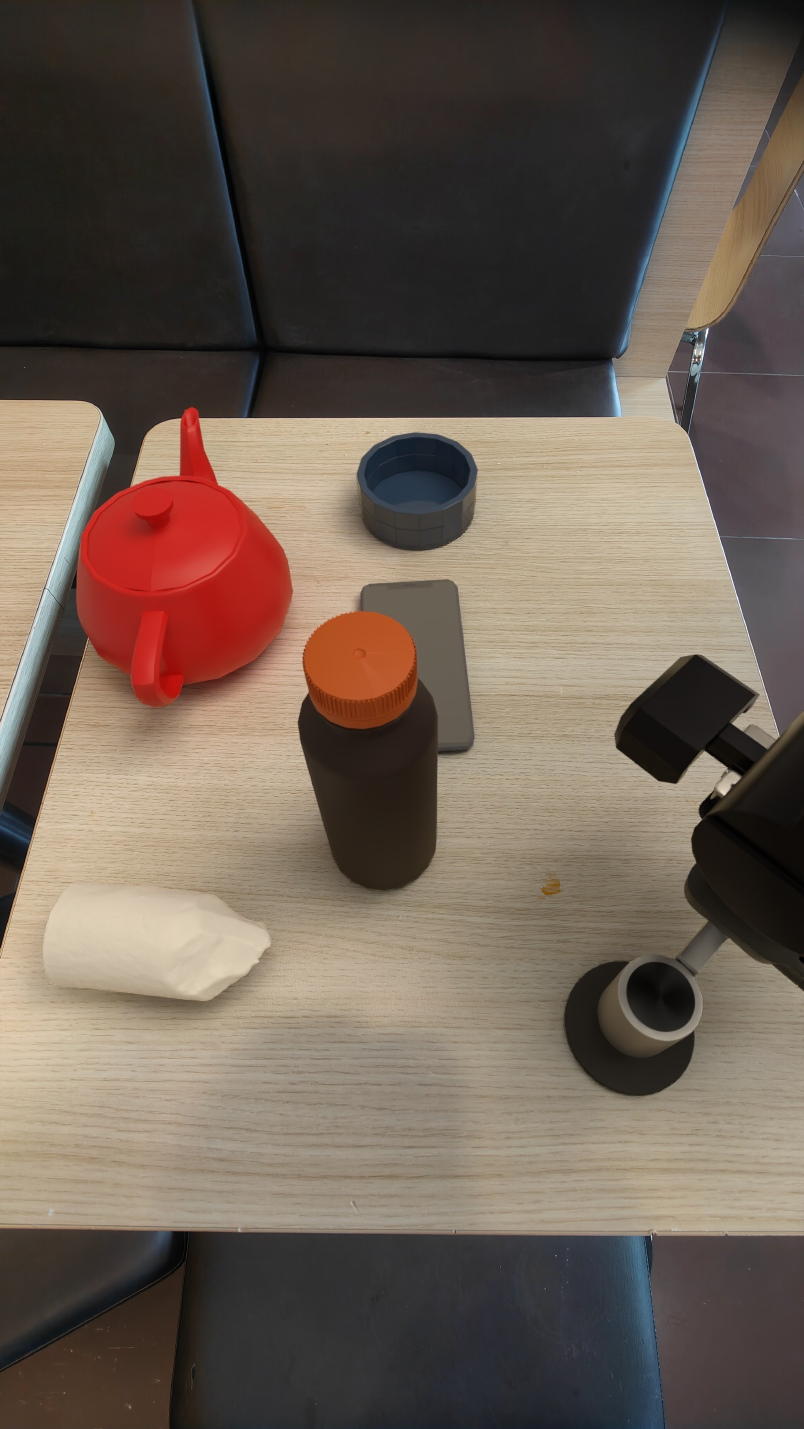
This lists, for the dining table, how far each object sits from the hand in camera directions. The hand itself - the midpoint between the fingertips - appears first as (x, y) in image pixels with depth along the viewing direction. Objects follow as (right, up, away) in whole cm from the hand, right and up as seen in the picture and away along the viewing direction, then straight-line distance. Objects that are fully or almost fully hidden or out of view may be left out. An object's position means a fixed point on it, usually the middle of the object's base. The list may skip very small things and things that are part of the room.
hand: (755, 882), depth 42 cm
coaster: (-6, -8, +2) cm, 11 cm away
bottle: (-20, +1, +8) cm, 22 cm away
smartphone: (-18, +13, +15) cm, 27 cm away
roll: (-32, -5, +5) cm, 33 cm away
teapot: (-35, +17, +19) cm, 43 cm away
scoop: (-3, -4, +1) cm, 5 cm away
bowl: (-18, +26, +24) cm, 40 cm away
